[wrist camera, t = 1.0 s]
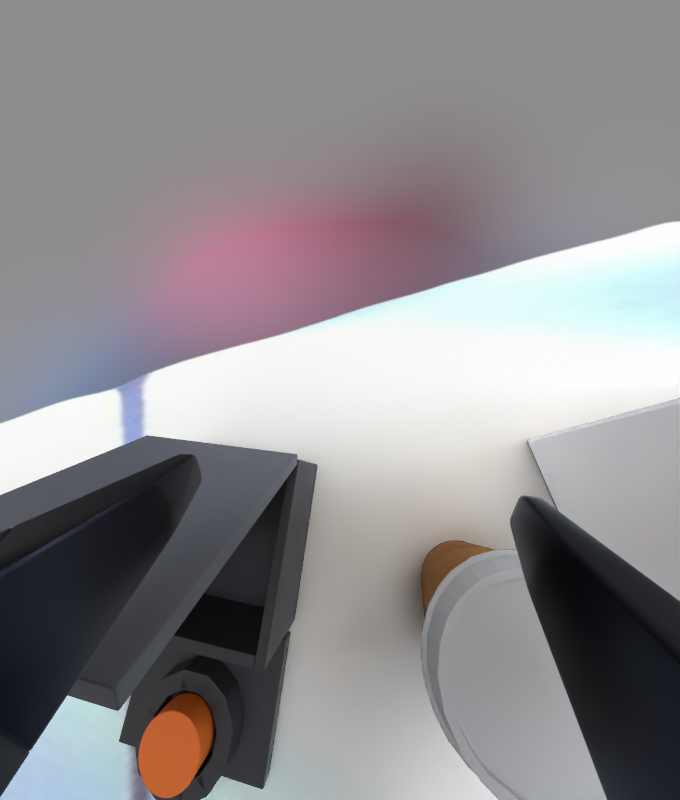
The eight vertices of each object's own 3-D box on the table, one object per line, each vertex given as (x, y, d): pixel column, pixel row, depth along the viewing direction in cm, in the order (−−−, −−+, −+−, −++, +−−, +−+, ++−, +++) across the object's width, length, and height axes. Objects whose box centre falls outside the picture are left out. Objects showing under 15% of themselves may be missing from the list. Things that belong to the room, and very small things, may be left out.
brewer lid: (118, 713, 7) (114, 689, 7) (-218, 607, 9) (-229, 587, 8) (297, 464, 20) (297, 454, 20) (148, 444, 22) (147, 435, 22)
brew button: (205, 779, 19) (189, 808, 17) (149, 761, 20) (128, 787, 18) (220, 700, 20) (207, 720, 18) (167, 685, 21) (149, 703, 19)
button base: (267, 784, 20) (249, 834, 18) (128, 739, 22) (92, 776, 19) (290, 632, 23) (278, 653, 20) (164, 602, 25) (136, 618, 22)
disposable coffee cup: (380, 601, 23) (385, 722, 11) (432, 497, 24) (483, 513, 13) (493, 684, 20) (642, 942, 9) (542, 563, 22) (720, 652, 11)
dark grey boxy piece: (294, 619, 23) (263, 672, 17) (165, 590, 25) (93, 627, 19) (317, 464, 27) (299, 459, 20) (202, 449, 29) (152, 440, 22)
